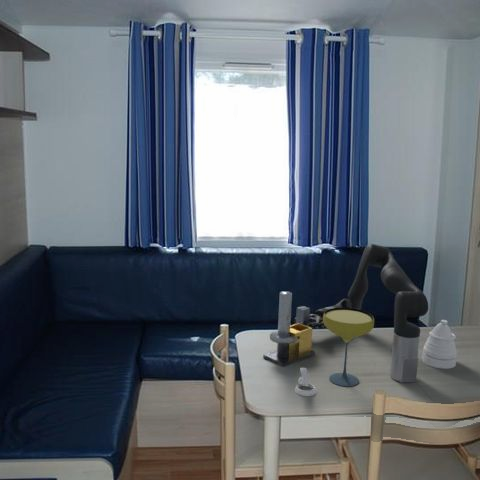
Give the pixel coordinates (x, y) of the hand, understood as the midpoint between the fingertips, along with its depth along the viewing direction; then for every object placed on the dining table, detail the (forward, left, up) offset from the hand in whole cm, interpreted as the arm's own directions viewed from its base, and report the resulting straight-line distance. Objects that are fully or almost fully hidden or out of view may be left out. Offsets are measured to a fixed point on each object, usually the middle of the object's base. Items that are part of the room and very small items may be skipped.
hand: (302, 323), depth 233 cm
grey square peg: (0, 0, -9) cm, 9 cm away
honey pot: (-26, -50, -9) cm, 57 cm away
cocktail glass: (-36, -5, -9) cm, 37 cm away
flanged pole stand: (-12, +9, -9) cm, 17 cm away
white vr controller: (-42, +12, -9) cm, 45 cm away
